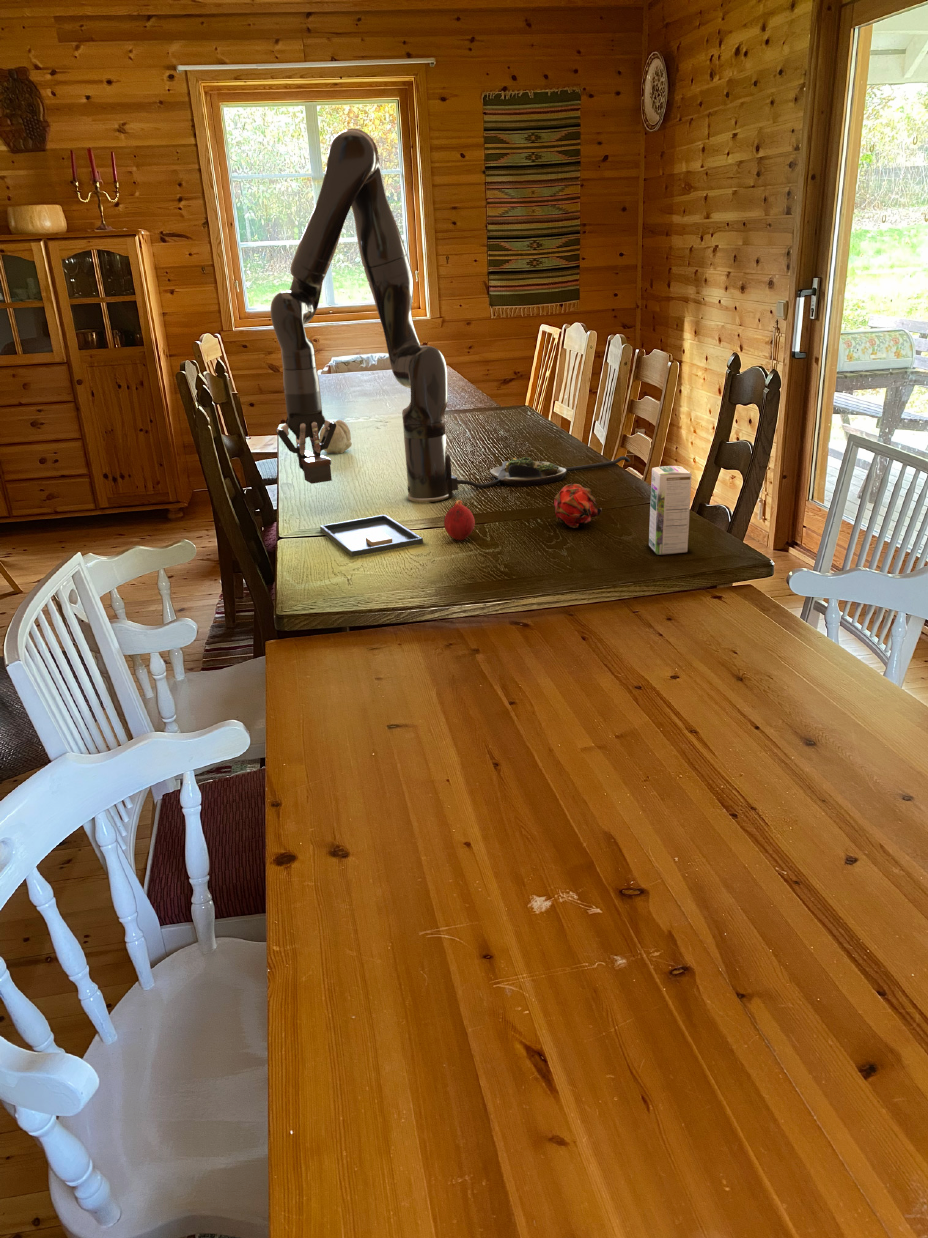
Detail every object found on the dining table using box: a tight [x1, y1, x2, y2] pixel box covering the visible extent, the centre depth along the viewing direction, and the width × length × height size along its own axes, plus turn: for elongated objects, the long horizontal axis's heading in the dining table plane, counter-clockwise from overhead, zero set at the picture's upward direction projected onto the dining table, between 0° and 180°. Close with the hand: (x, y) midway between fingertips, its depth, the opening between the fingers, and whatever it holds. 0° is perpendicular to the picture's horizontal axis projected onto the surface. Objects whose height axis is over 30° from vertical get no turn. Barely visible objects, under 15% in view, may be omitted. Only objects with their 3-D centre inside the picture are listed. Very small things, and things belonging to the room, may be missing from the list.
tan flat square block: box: [366, 534, 392, 547], centre depth 175 cm, size 4×4×1 cm
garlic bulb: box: [319, 419, 353, 455], centre depth 258 cm, size 9×8×10 cm
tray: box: [319, 514, 424, 558], centre depth 179 cm, size 14×20×1 cm
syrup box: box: [648, 465, 693, 556], centre depth 161 cm, size 6×6×14 cm
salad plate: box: [490, 456, 567, 487], centre depth 220 cm, size 19×18×5 cm
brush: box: [296, 449, 333, 485], centre depth 200 cm, size 14×5×5 cm, turn 26°
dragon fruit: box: [553, 483, 603, 529], centre depth 180 cm, size 8×8×12 cm
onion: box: [443, 499, 476, 542], centre depth 173 cm, size 6×6×8 cm
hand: (311, 469), depth 201 cm, fingers closed on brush
